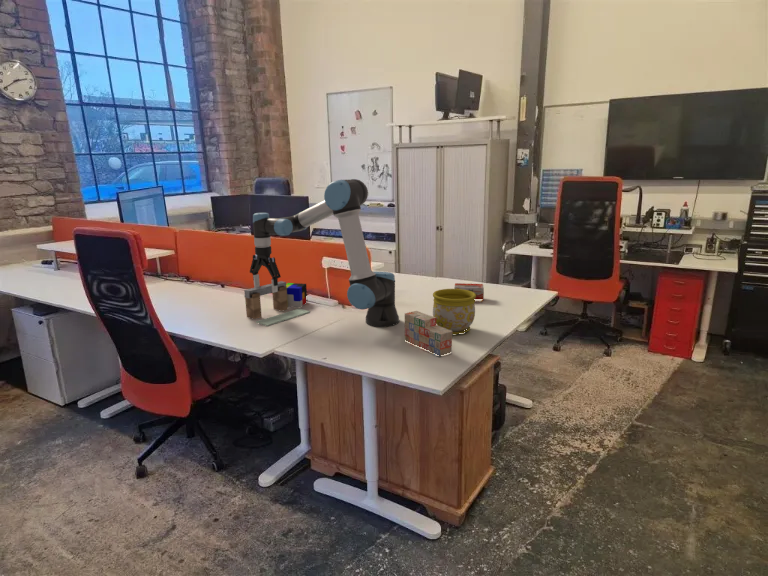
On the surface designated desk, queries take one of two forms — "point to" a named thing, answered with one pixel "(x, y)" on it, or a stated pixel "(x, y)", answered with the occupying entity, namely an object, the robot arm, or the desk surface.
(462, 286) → the medicine box
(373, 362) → the desk surface
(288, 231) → the robot arm
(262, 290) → the rail
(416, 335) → the stack of blocks
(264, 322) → the mat
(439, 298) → the flowerpot
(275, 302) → the stand
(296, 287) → the puzzle toy
